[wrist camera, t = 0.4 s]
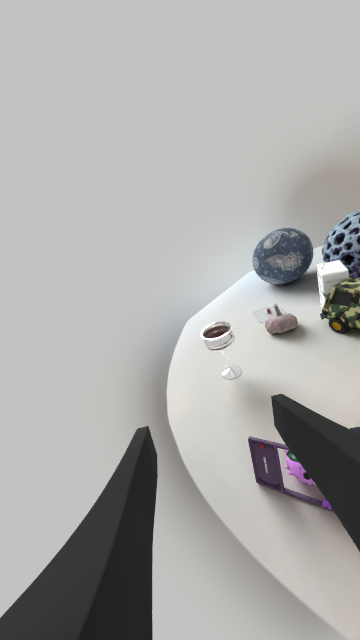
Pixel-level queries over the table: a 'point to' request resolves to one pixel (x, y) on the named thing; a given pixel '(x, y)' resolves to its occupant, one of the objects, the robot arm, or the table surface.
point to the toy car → (343, 305)
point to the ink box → (330, 278)
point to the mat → (356, 429)
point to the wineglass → (221, 345)
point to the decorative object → (345, 244)
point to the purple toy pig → (279, 469)
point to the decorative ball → (283, 256)
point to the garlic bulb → (280, 322)
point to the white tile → (267, 313)
